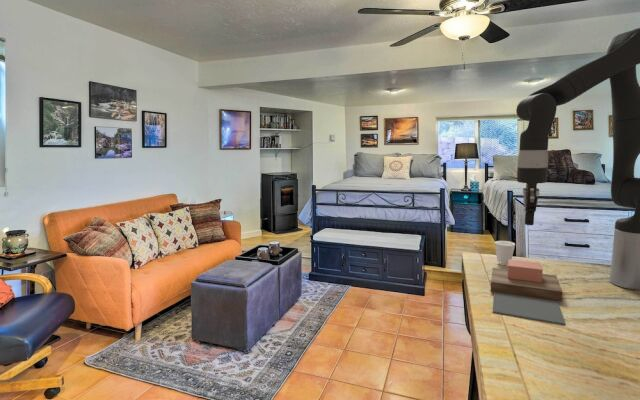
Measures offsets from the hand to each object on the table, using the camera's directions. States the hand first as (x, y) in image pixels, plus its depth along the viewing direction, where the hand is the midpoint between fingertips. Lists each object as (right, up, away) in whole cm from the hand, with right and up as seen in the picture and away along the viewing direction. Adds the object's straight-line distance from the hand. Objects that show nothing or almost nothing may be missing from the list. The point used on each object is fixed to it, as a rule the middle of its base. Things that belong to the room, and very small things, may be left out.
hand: (529, 224), depth 104 cm
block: (+2, -17, +6) cm, 18 cm away
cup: (+8, -17, +28) cm, 34 cm away
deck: (+1, -20, +5) cm, 21 cm away
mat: (-6, -22, -8) cm, 24 cm away
